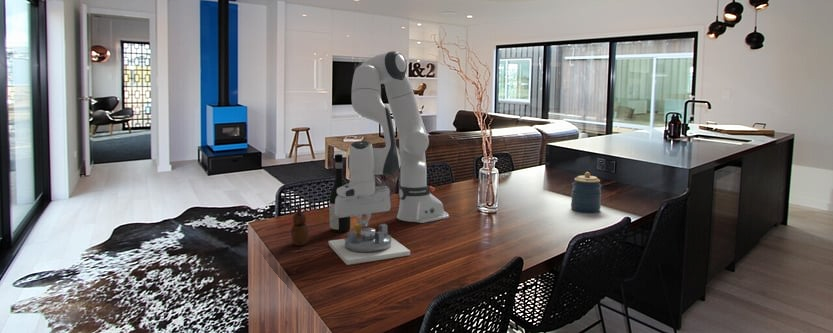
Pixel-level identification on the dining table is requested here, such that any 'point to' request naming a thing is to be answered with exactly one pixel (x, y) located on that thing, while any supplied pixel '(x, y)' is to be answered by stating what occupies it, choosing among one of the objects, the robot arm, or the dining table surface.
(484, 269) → the dining table surface
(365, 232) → the lathe chuck
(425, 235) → the dining table surface
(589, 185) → the canister
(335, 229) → the wine bottle
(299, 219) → the wooden figurine
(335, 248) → the base plate
